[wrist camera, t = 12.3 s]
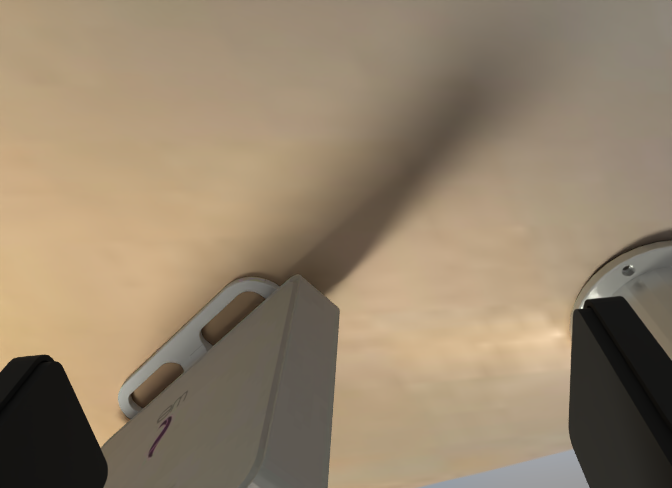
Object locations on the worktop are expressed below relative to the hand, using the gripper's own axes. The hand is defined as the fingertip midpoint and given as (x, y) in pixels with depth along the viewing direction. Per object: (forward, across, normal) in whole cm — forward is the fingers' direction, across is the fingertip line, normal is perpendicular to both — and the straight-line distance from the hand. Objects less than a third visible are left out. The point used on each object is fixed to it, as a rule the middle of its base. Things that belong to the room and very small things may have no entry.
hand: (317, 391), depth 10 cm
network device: (+28, +14, +21) cm, 38 cm away
